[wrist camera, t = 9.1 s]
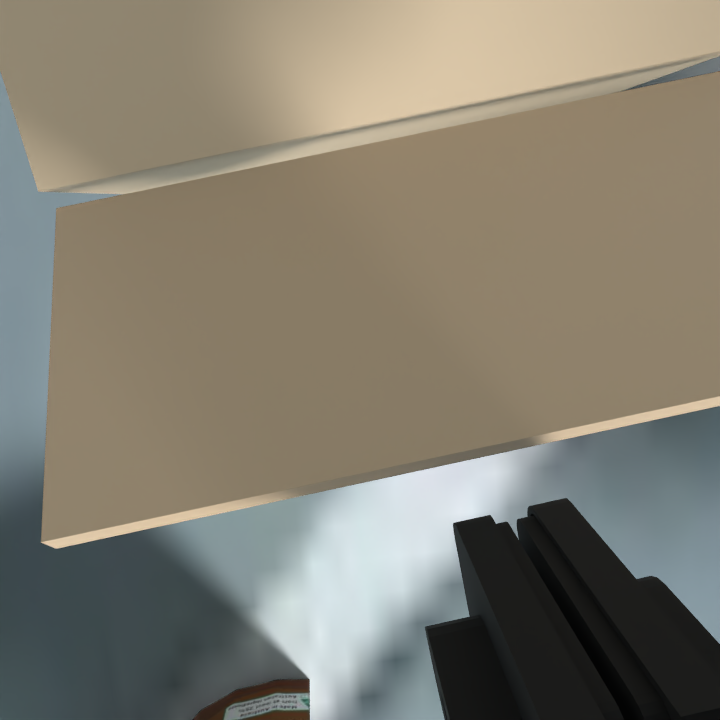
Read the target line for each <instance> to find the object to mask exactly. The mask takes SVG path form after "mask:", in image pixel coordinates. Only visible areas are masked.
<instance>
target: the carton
mask: <svg viewBox="0 0 720 720" xmlns="http://www.w3.org/2000/svg"><path fill="white" fill-rule="evenodd" d="M719 56H720V0H0V71H1V74H2V77H3V81H4V84H5V87H6V90H7V93H8V96H9V100H10V103H11V106H12V109H13V112H14V115H15V119H16V122H17V125H18V128H19V131H20V134H21V138H22V141H23V144H24V147H25V150H26V153H27V157H28V160H29V163H30V166H31V169H32V172H33V176H34V179H35V182H36V185H37V188H38V191H39V192H69V193H101V194H128V193H133V192H138V191H143V190H147V189H152V188H157V187H162V186H167V185H172V184H176V183H181V182H186V181H191V180H196V179H201V178H205V177H210V176H215V175H220V174H225V173H230V172H235V171H239V170H244V169H249V168H254V167H259V166H264V165H268V164H273V163H278V162H283V161H288V160H293V159H297V158H302V157H307V156H312V155H317V154H322V153H326V152H331V151H336V150H341V149H346V148H351V147H355V146H360V145H365V144H370V143H375V142H380V141H385V140H389V139H394V138H399V137H404V136H409V135H414V134H418V133H423V132H428V131H433V130H438V129H443V128H447V127H452V126H457V125H462V124H467V123H472V122H476V121H481V120H486V119H491V118H496V117H501V116H505V115H510V114H515V113H520V112H525V111H530V110H535V109H539V108H544V107H549V106H554V105H559V104H564V103H568V102H573V101H578V100H583V99H588V98H593V97H597V96H602V95H607V94H612V93H617V92H620V91H623V90H626V89H629V88H631V87H634V86H637V85H640V84H643V83H646V82H648V81H651V80H654V79H657V78H660V77H662V76H665V75H668V74H671V73H674V72H676V71H679V70H682V69H685V68H688V67H690V66H693V65H696V64H699V63H702V62H705V61H707V60H710V59H713V58H716V57H719Z"/></svg>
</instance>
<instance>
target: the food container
mask: <svg viewBox="0 0 720 720" xmlns="http://www.w3.org/2000/svg"><path fill="white" fill-rule="evenodd" d="M192 720H310V681H309V679H289V680H274V681H270V682H266V683H262V684H258V685H254V686H250V687H246V688H242V689H238V690H235V691H233V692H232V693H230V694H228V695H226V696H225V697H223V698H221V699H219V700H218V701H216V702H214V703H212V704H211V705H209V706H207V707H205V708H204V709H202V710H201V711H200V712H199V713H198V714H197V715H196V716H195V717H194V718H193V719H192Z"/></svg>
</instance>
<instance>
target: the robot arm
mask: <svg viewBox="0 0 720 720" xmlns="http://www.w3.org/2000/svg"><path fill="white" fill-rule="evenodd" d="M453 528H454V535H455V541H456V546H457V552H458V557H459V562H460V567H461V573H462V578H463V583H464V589H465V594H466V599H467V605H468V610H469V615H470V617H466V618H462V619H457V620H453V621H449V622H444V623H440V624H435V625H431V626H426V627H425V630H426V635H427V640H428V645H429V650H430V655H431V659H432V664H433V669H434V674H435V678H436V683H437V688H438V692H439V696H440V701H441V705H442V710H443V714H444V718H445V720H720V644H719V643H718V642H717V641H716V640H715V639H714V637H713V636H712V635H711V634H710V633H709V632H708V631H707V630H706V629H705V628H704V627H703V625H702V624H701V623H700V622H699V621H698V620H697V619H696V618H695V617H694V616H693V614H692V613H691V612H690V611H689V610H688V609H687V608H686V607H685V606H684V605H683V603H682V602H681V601H680V600H679V599H678V598H677V597H676V596H675V595H674V594H673V593H672V591H671V590H670V589H669V588H668V587H667V586H666V585H665V584H664V583H663V582H662V581H661V580H659V579H658V578H657V577H653V576H649V577H644V578H640V579H636V578H635V577H634V576H633V575H632V574H631V572H630V571H629V570H628V569H627V568H626V567H625V565H624V564H623V563H622V562H621V561H620V560H619V558H618V557H617V556H616V555H615V554H614V552H613V551H612V550H611V549H610V548H609V547H608V545H607V544H606V543H605V542H604V541H603V539H602V538H601V537H600V536H599V535H598V534H597V532H596V531H595V530H594V529H593V528H592V527H591V525H590V524H589V523H588V522H587V521H586V519H585V518H584V517H583V516H582V515H581V514H580V512H579V511H578V510H577V509H576V508H575V507H574V505H573V504H572V503H571V502H570V501H569V500H568V499H567V498H564V499H560V500H555V501H551V502H546V503H542V504H537V505H533V506H529V507H528V517H525V518H521V519H518V520H517V531H518V537H519V540H518V538H517V537H516V535H515V533H514V532H513V530H512V528H511V527H510V525H509V524H508V522H503V523H498V524H496V523H495V522H494V520H493V518H492V517H491V515H488V516H483V517H479V518H474V519H470V520H465V521H461V522H456V523H453Z"/></svg>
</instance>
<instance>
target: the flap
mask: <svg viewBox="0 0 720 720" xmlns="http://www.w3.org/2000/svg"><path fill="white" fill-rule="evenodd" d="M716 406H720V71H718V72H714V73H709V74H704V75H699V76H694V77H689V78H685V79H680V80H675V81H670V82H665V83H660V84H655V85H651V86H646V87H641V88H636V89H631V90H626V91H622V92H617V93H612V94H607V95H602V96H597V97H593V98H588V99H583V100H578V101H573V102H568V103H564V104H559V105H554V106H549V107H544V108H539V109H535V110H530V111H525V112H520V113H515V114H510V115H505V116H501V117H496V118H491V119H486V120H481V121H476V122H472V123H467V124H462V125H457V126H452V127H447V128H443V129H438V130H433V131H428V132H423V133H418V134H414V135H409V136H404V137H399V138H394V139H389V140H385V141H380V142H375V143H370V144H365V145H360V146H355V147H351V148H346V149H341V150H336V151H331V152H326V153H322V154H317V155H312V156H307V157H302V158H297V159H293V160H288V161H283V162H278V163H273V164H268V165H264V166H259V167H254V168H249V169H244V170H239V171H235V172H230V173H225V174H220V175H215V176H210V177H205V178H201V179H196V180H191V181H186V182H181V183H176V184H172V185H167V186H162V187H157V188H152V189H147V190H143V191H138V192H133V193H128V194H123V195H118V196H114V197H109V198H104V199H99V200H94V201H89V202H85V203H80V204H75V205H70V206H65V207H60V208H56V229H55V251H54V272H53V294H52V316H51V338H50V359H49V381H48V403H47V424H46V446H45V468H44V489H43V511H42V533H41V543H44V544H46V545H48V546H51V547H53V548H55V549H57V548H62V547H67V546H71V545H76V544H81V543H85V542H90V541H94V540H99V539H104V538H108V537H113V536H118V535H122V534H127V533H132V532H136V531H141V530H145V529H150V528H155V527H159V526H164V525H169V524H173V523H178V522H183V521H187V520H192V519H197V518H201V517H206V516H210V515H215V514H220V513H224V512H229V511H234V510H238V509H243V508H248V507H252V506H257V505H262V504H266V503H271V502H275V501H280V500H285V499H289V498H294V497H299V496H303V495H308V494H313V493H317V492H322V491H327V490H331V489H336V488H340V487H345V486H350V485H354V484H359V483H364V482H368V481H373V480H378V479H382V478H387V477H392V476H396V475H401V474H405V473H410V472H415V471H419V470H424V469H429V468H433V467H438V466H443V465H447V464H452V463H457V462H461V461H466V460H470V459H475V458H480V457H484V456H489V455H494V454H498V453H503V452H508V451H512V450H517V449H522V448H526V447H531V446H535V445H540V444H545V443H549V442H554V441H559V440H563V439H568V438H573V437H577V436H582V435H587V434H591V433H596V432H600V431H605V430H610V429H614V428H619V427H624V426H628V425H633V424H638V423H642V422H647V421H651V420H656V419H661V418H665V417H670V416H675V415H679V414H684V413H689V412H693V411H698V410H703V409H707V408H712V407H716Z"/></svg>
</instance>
